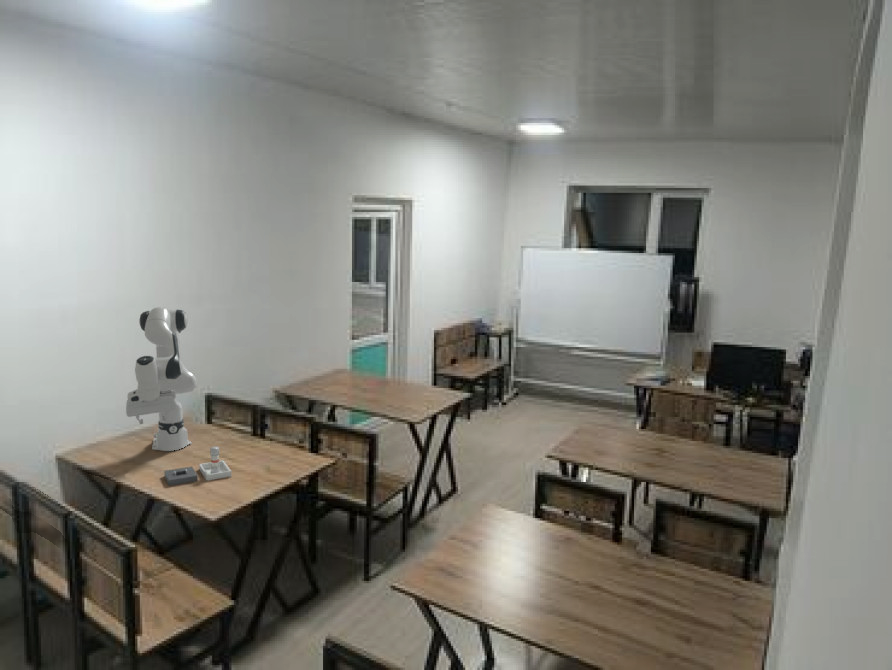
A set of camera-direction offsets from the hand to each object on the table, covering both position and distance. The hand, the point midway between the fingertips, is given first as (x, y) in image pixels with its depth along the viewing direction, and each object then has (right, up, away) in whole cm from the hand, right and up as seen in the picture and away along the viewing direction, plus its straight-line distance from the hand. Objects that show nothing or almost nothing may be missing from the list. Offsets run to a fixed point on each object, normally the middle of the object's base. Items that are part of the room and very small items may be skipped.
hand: (153, 421), depth 290 cm
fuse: (+23, -25, +13) cm, 37 cm away
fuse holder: (+10, -27, +6) cm, 30 cm away
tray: (+23, -26, +14) cm, 37 cm away
